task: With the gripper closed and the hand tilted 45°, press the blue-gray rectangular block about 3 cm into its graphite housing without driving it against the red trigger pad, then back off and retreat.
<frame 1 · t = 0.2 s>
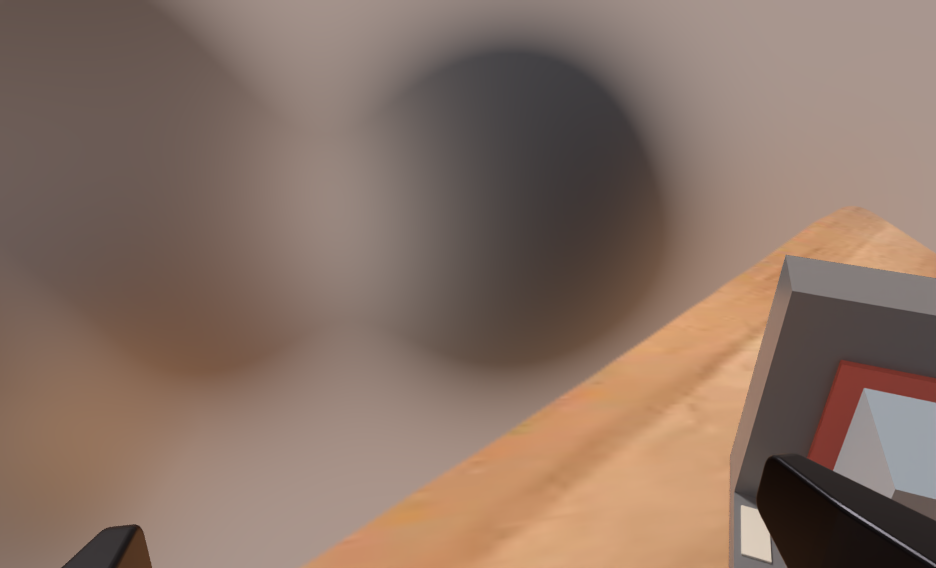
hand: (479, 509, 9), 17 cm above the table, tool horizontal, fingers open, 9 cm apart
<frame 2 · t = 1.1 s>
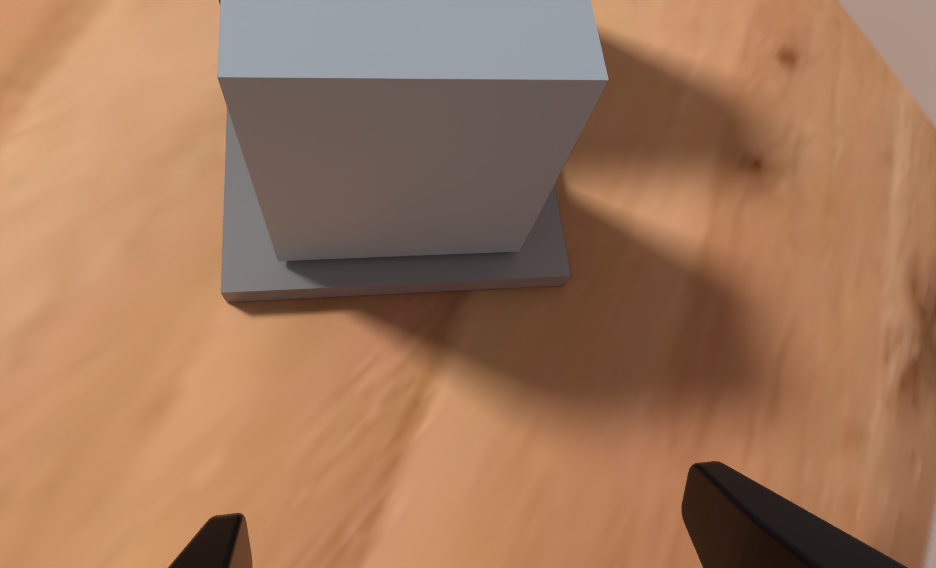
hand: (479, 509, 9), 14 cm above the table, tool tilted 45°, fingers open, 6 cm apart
blue-gray rectangular block: (404, 119, 20), point 6 cm above the table, slide at 0.0 cm
housing: (392, 160, 27), on the table
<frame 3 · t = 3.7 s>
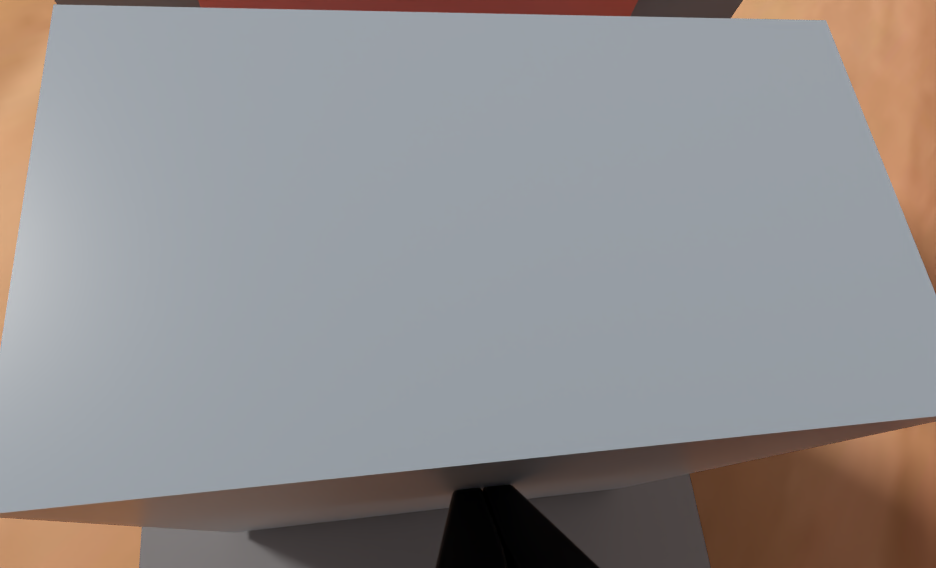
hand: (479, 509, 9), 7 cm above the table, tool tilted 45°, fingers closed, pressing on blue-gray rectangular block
blue-gray rectangular block: (451, 344, 11), point 6 cm above the table, slide at 1.5 cm, touching gripper
housing: (420, 375, 17), on the table
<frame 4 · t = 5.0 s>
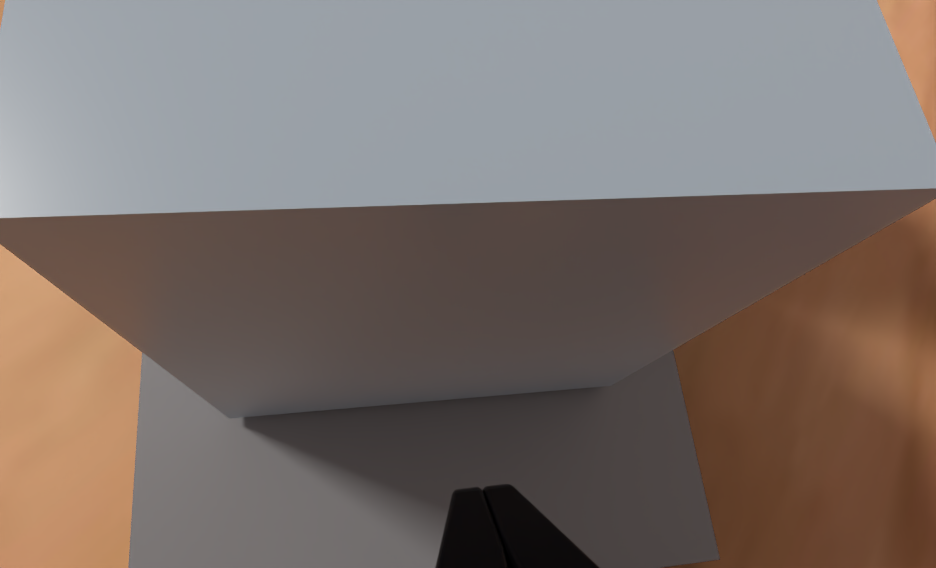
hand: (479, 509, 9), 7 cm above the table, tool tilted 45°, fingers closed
blue-gray rectangular block: (442, 208, 11), point 6 cm above the table, slide at 3.2 cm
housing: (419, 342, 17), on the table
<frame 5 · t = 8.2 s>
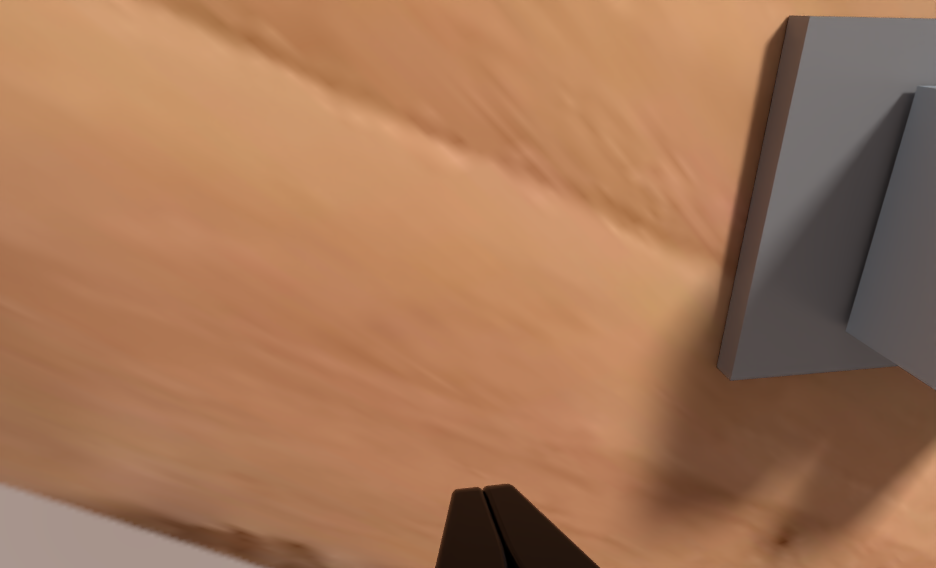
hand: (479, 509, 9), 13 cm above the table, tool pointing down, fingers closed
housing: (893, 206, 24), on the table
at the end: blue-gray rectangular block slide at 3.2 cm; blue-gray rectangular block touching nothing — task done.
